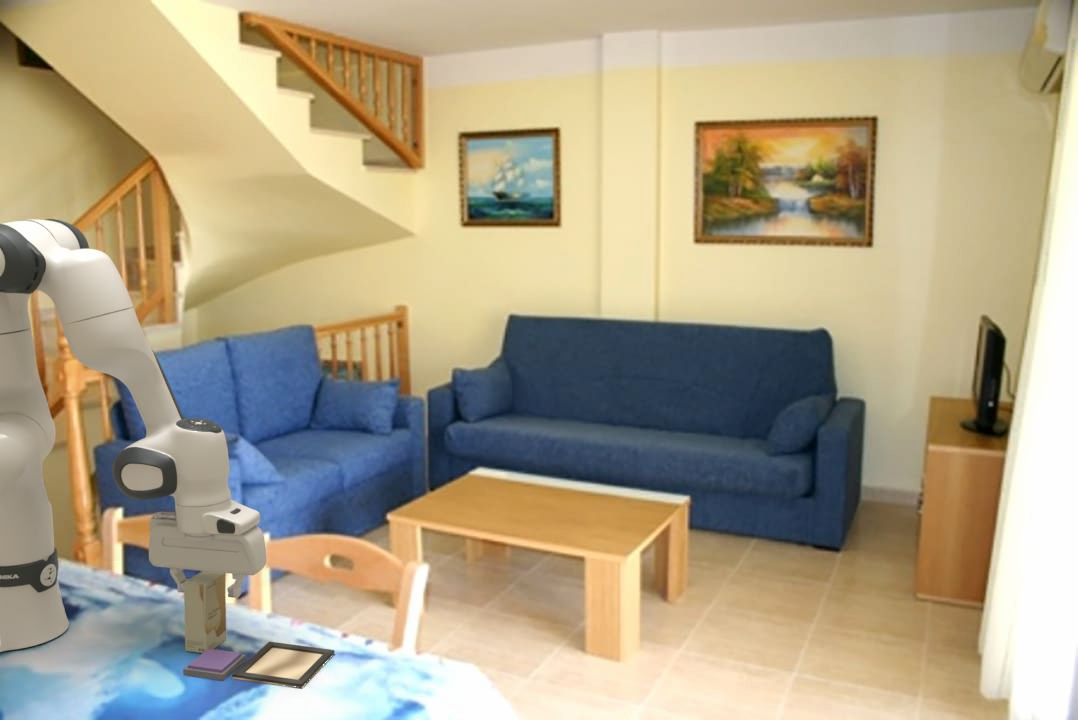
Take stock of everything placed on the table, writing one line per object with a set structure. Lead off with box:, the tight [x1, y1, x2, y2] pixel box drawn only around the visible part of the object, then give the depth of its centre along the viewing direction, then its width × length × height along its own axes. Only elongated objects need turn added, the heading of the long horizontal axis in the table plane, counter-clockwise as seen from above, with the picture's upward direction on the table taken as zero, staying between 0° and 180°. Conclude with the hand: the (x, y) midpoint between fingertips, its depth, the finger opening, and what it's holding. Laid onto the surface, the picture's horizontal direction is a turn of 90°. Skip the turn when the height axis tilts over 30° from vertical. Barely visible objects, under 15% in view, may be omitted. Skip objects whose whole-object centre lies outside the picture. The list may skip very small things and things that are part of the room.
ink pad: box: [182, 648, 247, 682], centre depth 153 cm, size 7×7×2 cm
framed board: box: [231, 641, 335, 688], centre depth 154 cm, size 12×12×1 cm
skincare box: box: [183, 571, 227, 654], centre depth 159 cm, size 6×4×12 cm
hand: (209, 593), depth 158 cm, fingers open, 8 cm apart
